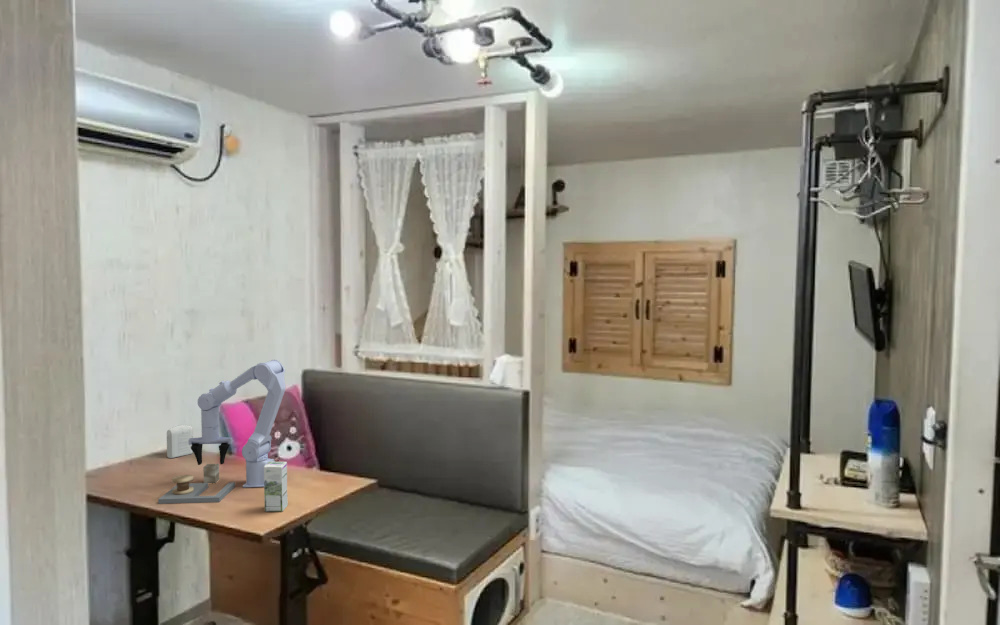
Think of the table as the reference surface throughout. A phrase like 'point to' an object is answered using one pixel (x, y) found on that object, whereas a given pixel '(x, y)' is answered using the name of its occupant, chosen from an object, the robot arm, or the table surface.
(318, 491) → the table surface
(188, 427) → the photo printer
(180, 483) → the spool
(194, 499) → the notched board
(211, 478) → the block
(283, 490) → the syrup box
